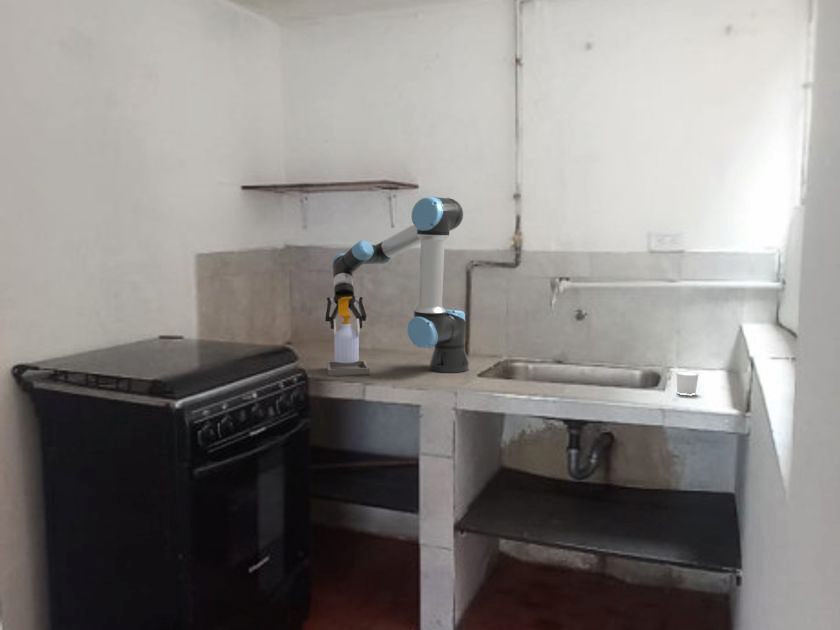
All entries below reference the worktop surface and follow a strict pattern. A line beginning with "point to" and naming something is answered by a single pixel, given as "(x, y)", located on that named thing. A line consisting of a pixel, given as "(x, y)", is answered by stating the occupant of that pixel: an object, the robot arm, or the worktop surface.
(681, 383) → the white cup
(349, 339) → the soap bottle
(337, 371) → the tray
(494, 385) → the worktop surface
